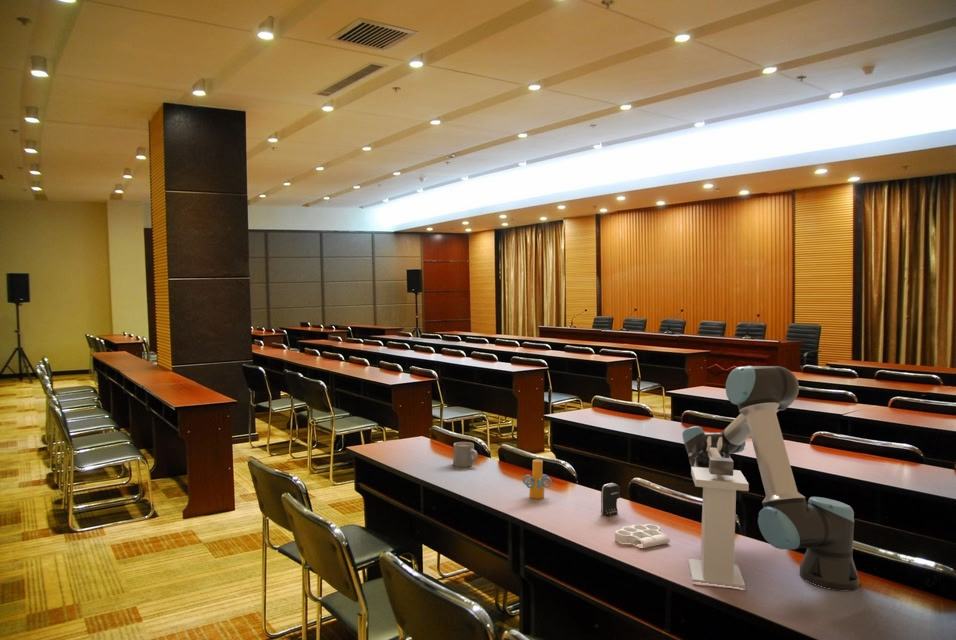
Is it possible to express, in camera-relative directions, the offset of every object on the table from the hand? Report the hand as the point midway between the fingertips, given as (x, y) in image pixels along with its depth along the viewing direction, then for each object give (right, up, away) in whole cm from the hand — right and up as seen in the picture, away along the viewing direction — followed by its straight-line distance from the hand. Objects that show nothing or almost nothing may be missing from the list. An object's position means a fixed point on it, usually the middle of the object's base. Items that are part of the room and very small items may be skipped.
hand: (715, 440), depth 195 cm
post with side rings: (-49, -36, +65) cm, 89 cm away
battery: (-23, -37, +45) cm, 62 cm away
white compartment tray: (-18, -38, +20) cm, 46 cm away
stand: (-3, -38, -9) cm, 39 cm away
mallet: (-1, -6, -4) cm, 8 cm away
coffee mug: (-79, -34, +114) cm, 142 cm away
